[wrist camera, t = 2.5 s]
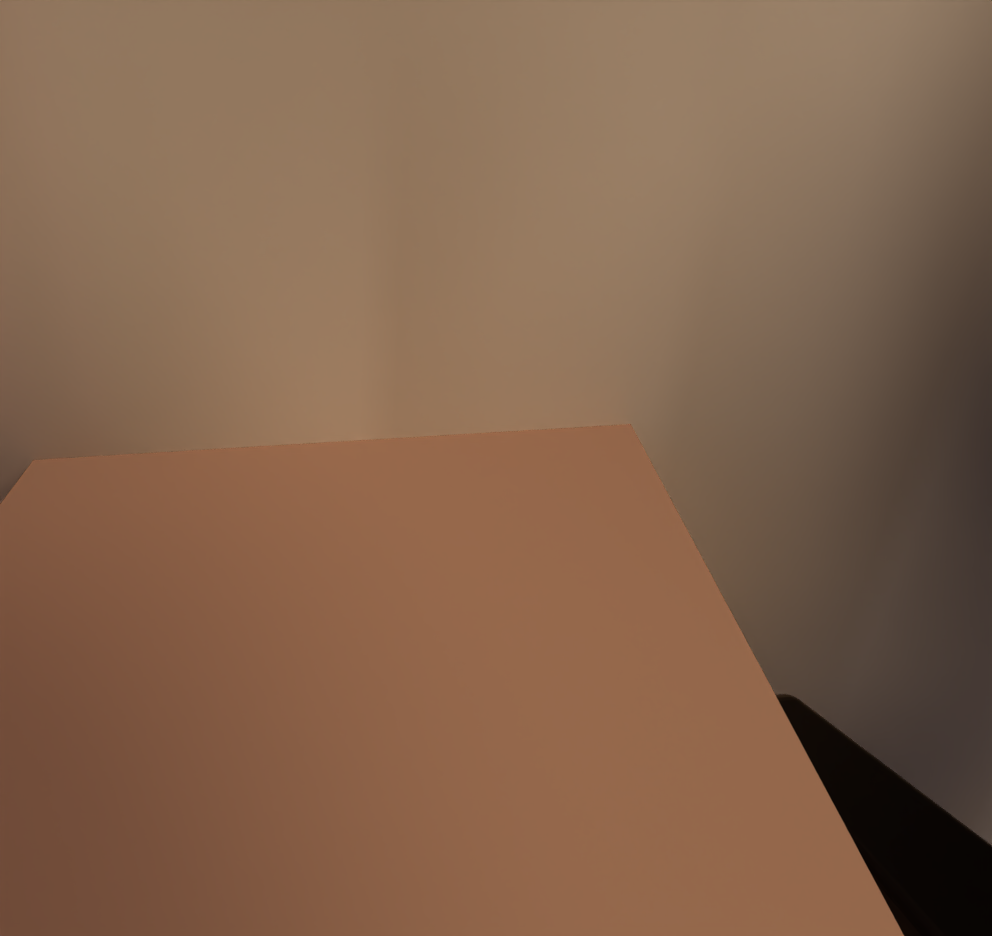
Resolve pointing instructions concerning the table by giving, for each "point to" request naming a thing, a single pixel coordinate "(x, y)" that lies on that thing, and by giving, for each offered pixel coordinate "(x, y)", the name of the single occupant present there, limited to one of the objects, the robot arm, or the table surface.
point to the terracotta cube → (394, 703)
